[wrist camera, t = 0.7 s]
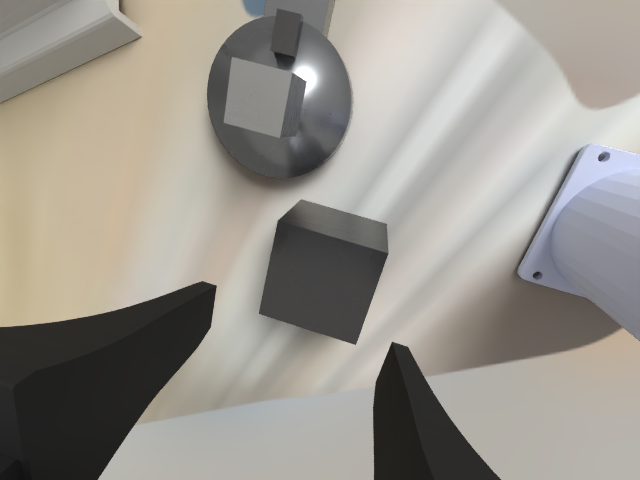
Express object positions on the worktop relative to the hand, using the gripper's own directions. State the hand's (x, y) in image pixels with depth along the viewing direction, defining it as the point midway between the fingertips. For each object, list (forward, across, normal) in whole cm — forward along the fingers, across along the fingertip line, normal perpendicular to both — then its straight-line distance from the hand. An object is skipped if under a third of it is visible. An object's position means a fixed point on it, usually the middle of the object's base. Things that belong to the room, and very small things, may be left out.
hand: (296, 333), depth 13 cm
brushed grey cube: (+9, 0, 0) cm, 9 cm away
